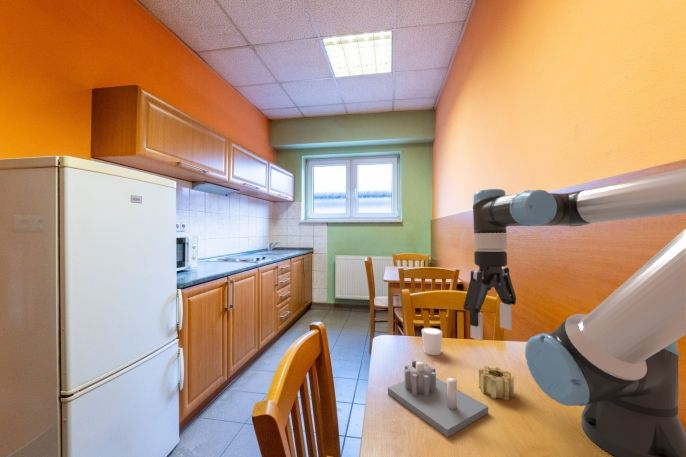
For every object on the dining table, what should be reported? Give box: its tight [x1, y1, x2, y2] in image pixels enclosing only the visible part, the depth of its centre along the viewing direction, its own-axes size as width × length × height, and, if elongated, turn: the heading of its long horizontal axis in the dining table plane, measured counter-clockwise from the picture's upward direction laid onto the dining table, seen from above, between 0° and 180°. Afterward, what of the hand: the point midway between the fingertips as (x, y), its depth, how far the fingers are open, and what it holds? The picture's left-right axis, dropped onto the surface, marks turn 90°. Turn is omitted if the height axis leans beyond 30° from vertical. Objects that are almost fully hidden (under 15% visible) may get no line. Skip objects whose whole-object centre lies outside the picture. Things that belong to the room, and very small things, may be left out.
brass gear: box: [478, 365, 515, 401], centre depth 73 cm, size 8×8×4 cm
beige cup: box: [421, 327, 443, 356], centre depth 97 cm, size 7×7×7 cm
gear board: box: [387, 360, 489, 438], centre depth 68 cm, size 18×14×8 cm
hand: (492, 333), depth 73 cm, fingers open, 13 cm apart
